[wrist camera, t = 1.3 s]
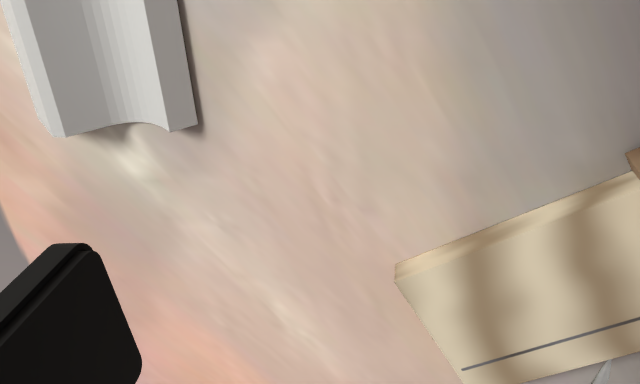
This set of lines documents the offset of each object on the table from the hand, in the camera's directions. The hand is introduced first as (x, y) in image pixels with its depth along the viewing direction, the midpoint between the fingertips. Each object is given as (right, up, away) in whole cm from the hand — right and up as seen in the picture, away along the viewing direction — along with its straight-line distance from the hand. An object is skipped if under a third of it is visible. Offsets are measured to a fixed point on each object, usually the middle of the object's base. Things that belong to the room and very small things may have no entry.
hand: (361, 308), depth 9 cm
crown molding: (-15, +21, +20) cm, 32 cm away
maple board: (+18, -3, +26) cm, 32 cm away
